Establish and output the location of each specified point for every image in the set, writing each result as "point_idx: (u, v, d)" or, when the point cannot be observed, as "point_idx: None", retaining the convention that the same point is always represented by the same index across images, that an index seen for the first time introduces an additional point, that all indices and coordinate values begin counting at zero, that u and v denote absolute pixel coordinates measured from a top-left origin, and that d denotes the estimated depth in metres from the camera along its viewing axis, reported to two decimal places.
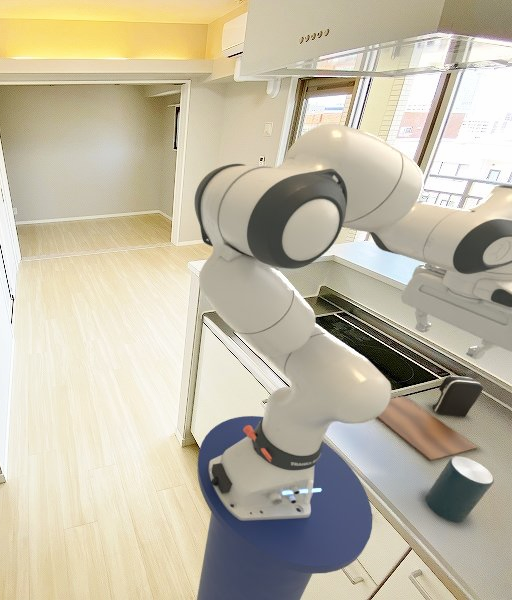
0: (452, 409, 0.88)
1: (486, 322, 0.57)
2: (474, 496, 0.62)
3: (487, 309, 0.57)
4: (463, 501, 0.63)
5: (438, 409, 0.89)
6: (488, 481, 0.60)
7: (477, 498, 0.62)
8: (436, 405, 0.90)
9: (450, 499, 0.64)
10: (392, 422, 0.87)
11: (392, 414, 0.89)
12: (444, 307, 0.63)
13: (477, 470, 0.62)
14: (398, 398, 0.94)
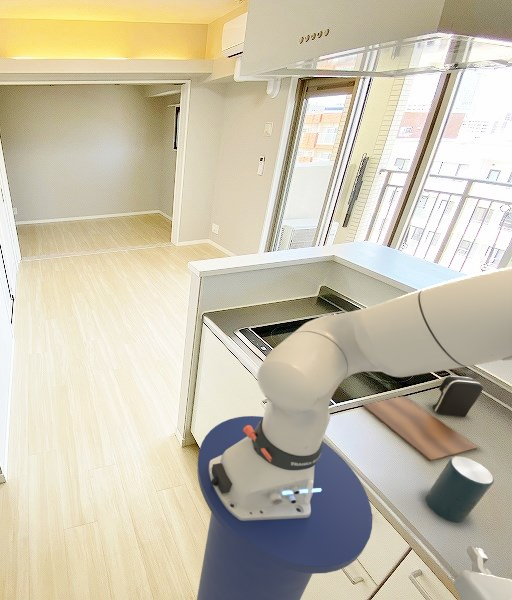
0: (452, 409, 0.88)
1: None
2: (474, 496, 0.62)
3: None
4: (463, 501, 0.63)
5: (438, 409, 0.89)
6: (488, 481, 0.60)
7: (477, 498, 0.62)
8: (436, 405, 0.90)
9: (450, 499, 0.64)
10: (392, 422, 0.87)
11: (392, 414, 0.89)
12: None
13: (477, 470, 0.62)
14: (398, 398, 0.94)
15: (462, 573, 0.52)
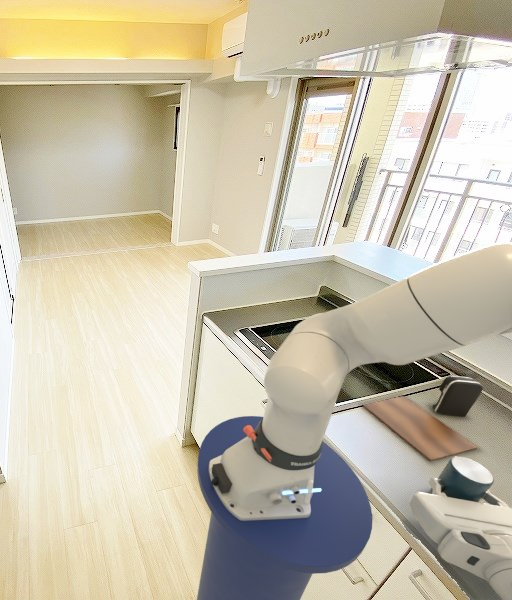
0: (452, 409, 0.88)
1: (456, 512, 0.59)
2: (474, 496, 0.62)
3: (469, 526, 0.57)
4: None
5: (438, 409, 0.89)
6: (488, 481, 0.60)
7: (477, 498, 0.62)
8: (436, 405, 0.90)
9: None
10: (392, 422, 0.87)
11: (392, 414, 0.89)
12: (499, 517, 0.58)
13: (477, 470, 0.62)
14: (398, 398, 0.94)
15: (415, 494, 0.63)
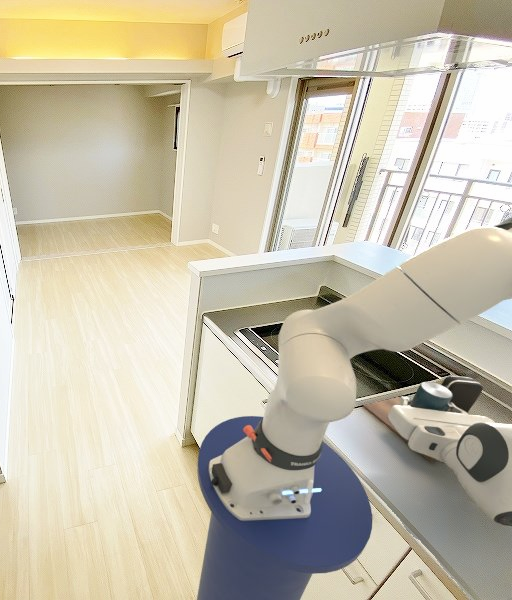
0: None
1: (423, 416, 0.77)
2: (437, 409, 0.79)
3: (432, 425, 0.75)
4: None
5: None
6: (448, 396, 0.78)
7: None
8: None
9: None
10: None
11: None
12: (455, 419, 0.76)
13: (440, 389, 0.80)
14: (398, 398, 0.94)
15: (392, 406, 0.80)
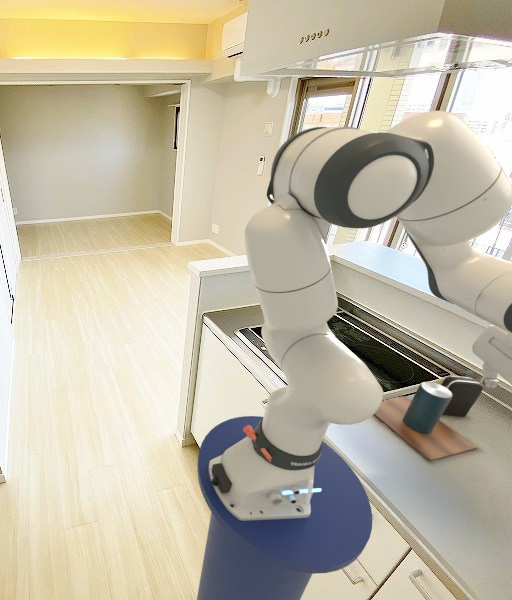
0: (452, 409, 0.88)
1: None
2: (437, 409, 0.79)
3: None
4: (430, 414, 0.81)
5: None
6: (448, 396, 0.78)
7: (440, 411, 0.80)
8: None
9: (420, 414, 0.82)
10: (392, 422, 0.87)
11: (392, 414, 0.89)
12: (506, 364, 0.60)
13: (440, 389, 0.80)
14: (398, 398, 0.94)
15: None
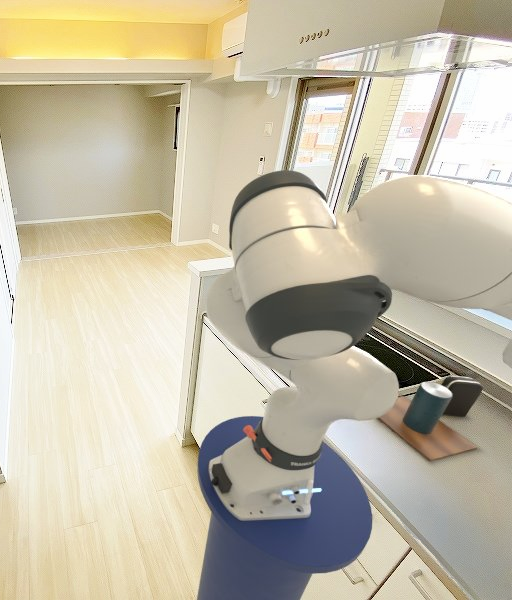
0: (452, 409, 0.88)
1: None
2: (437, 409, 0.79)
3: None
4: (430, 414, 0.81)
5: None
6: (448, 396, 0.78)
7: (440, 411, 0.80)
8: None
9: (420, 414, 0.82)
10: (392, 422, 0.87)
11: (392, 414, 0.89)
12: None
13: (440, 389, 0.80)
14: (398, 398, 0.94)
15: None
